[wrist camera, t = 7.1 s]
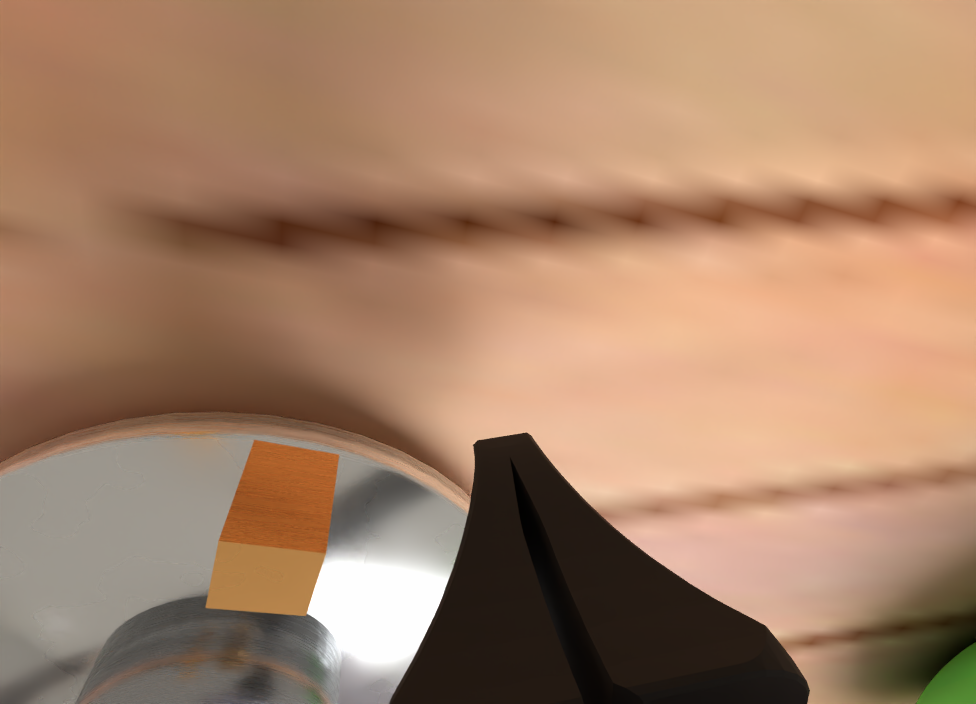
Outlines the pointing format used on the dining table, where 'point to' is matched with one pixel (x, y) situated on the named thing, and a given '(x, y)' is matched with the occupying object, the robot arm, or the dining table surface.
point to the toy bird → (954, 681)
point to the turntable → (219, 541)
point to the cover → (215, 659)
